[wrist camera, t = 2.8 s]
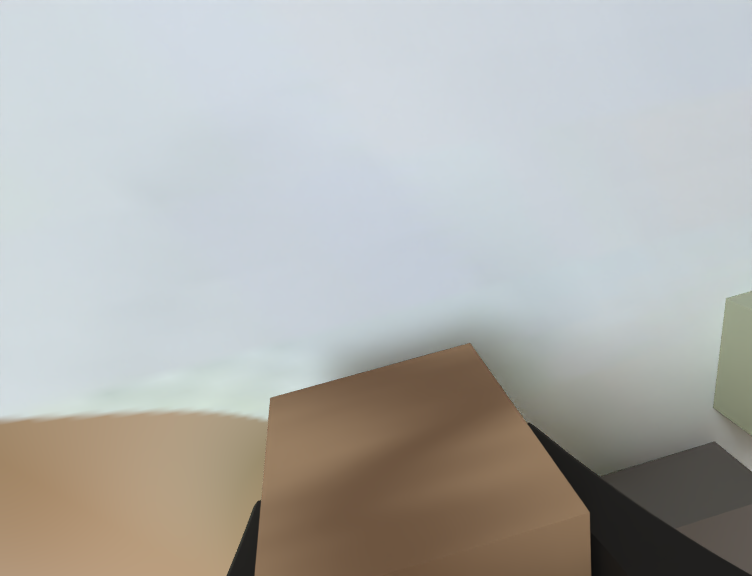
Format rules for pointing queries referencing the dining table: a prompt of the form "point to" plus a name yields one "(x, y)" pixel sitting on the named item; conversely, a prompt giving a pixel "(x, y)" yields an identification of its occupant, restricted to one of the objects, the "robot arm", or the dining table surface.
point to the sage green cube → (736, 363)
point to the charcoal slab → (697, 498)
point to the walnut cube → (414, 479)
